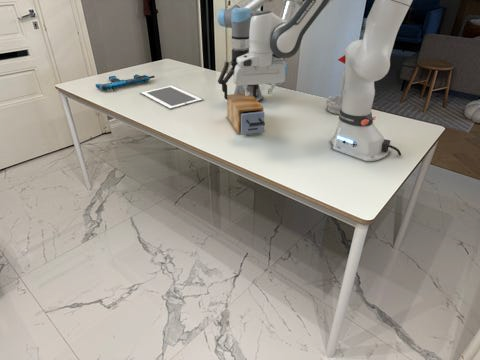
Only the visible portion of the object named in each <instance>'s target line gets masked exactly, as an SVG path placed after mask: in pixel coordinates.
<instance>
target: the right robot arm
mask: <svg viewBox="0 0 480 360" xmlns="http://www.w3.org/2000/svg"><path fill="white" fill-rule="evenodd" d="M413 1H414V0H374V1H373V4H372V6H371V8H370V11H369V12H368V15H367V17H366V20H365V29H364V33H363V36H362V39H356V40H353V41H352V42H350V43H349V45H347V47H346V48H347V49H346V48H345V49H346V52H345V51H344V53H345V54H344V55H345V59H346V64H344V65H345V85H344V91H343V97H342V98H343V102H342V108H341V109H340V113H339V114H338V122H337V123H338V124H337V127H336V130H335V132H334V135H333V137H332V139H331V144H332V149H333V150H334V151H336V152H340V153H343V154H344V155H345V154H346V155H348V156H351V157H354V158H356V159H359V160H361V161H365V162H374V161H379V160H381V159H383V158H385V157H387V155H388V154H389V152H390V150H389V148H390V149H393V150H394V151H395V152H397V155H398V157H400V156H402V153H401V151H400V149H399V148H397V147H396V146H394V145H391V140H390V139H385V138H384V135H383V134H382V133H381V131H379V128H377V126H376V125H375V124H374V121H375V120H376V119H377V116H373V113H372V109H373V104H374V99H375V95H376V89H375V82H377V81H380V80H382V79H383V78H385V77H386V75H388V73H389V71H390V68H391V55H392V52H393V50H394V49H393V48H394V46H395V41H396V38H397V35H398V32H399V30H400V27H401V25H402V23H403V22H404V19H405V17H406V15H407V13H408V11H409V9H410V7H411V5H412V3H413ZM331 2H333V0H305V1H304V3H303V4H302V5H301V7H300V8H299V9H298V11H297V12H296V13H295V15H294V16H293V17H292V19H291V20H290V21H289V22H288V21H286V20H283V19H281V18H279V17H280V16H278V15H277V14H276V13H274V12H273V11H272V10H260V11H261V12H258V13H256V14H254V15H253V16H252V18H251V21H250V30H249V48H248V49H249V53H247V54H245V55H242V56H239V57H237V59H236V61H237V63H238V64H237V65H236V66H235V69H234V74H233V79H232V80H233V83H234V84H235V85H236V86H243V88H244V90H245V95H246V96H250V91H249V90H247V89H246V88H247V85H256V84H259V85H269V84H271V85H270V88H267V94H268V95H273V91H274V89H275V88H276V87H277V85H276V83H281V84H282V83H284V82H285V81H286V78H285V67H286V63H287V61H285V60H284V59H283V58H286V59H289V58H292V57H293V56H295V55H296V54H297V53H298V52H299V49H300V47H301V43H302V40H303V38H304V36H305V34H306V32H307V31H308V29H309V28H310V27H311V25H312V24H313V23H314V22H315V21H316V20H317V18H318V16H319V15H320V14H321V13H322V11H324V9H325V8H326V7H327V6H328V5H329V4H330V3H331ZM272 52H273V53H274V54H275V55H276V56H277V57H279V58H272ZM283 60H284V61H283Z"/></svg>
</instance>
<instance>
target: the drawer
mask: <svg viewBox="0 0 480 360" xmlns="http://www.w3.org/2000/svg"><path fill="white" fill-rule="evenodd" d="M265 124H266V123H265V111H264V110H263V112H260V110H255V111H246V112H241V134H240V135H242V136H244V135H251V134H259V133H264V132H265V126H266V125H265Z"/></svg>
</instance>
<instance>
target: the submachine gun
mask: <svg viewBox="0 0 480 360" xmlns="http://www.w3.org/2000/svg"><path fill="white" fill-rule="evenodd" d="M151 79H155V75H150V76H149V75H147V74H143V75H140V74H134V75H133V78H128V79H120V78H117V76H116V75H110V76H108V80H109V81H110V82H108V83H94V84H95V88H97V89H98V90H99V91H101V92H104V91H111V90H112V91H116V90H115V89H119V88H124V87H128V86H133V85H138V84H143V83H148V82H149V81H150V80H151Z"/></svg>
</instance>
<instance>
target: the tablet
mask: <svg viewBox="0 0 480 360" xmlns="http://www.w3.org/2000/svg"><path fill="white" fill-rule="evenodd" d="M140 94H142V95H143V96H145V97H147V98H149V99H150V100H152V101H155V102H156V103H158V104H160V105H161V106H163V107H166V108H167V109H170V110H172V109H177V108H178V107H179V108H180V107H183V106H186V105H190V104H194V103H197V102H200V101H203V100H204V99H203V98H200V97H199V96H196V95H194V94H192V93H190V92H188V91H186V90H184V89H181V88H179V87H177V86H174V85H167V86H163V87H159V88H154V89H150V90H146V91H142V92H140Z"/></svg>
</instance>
